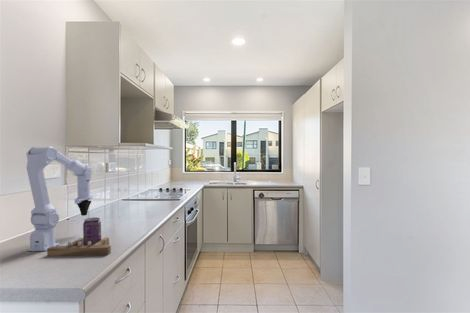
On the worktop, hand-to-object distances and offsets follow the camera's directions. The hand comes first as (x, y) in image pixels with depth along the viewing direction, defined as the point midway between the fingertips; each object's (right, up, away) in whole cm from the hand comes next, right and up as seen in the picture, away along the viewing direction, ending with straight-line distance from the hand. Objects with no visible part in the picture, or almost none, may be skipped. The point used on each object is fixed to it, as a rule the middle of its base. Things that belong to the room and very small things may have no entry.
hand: (84, 215), depth 150 cm
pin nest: (+15, -9, -26) cm, 31 cm away
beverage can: (+14, -10, -21) cm, 27 cm away
